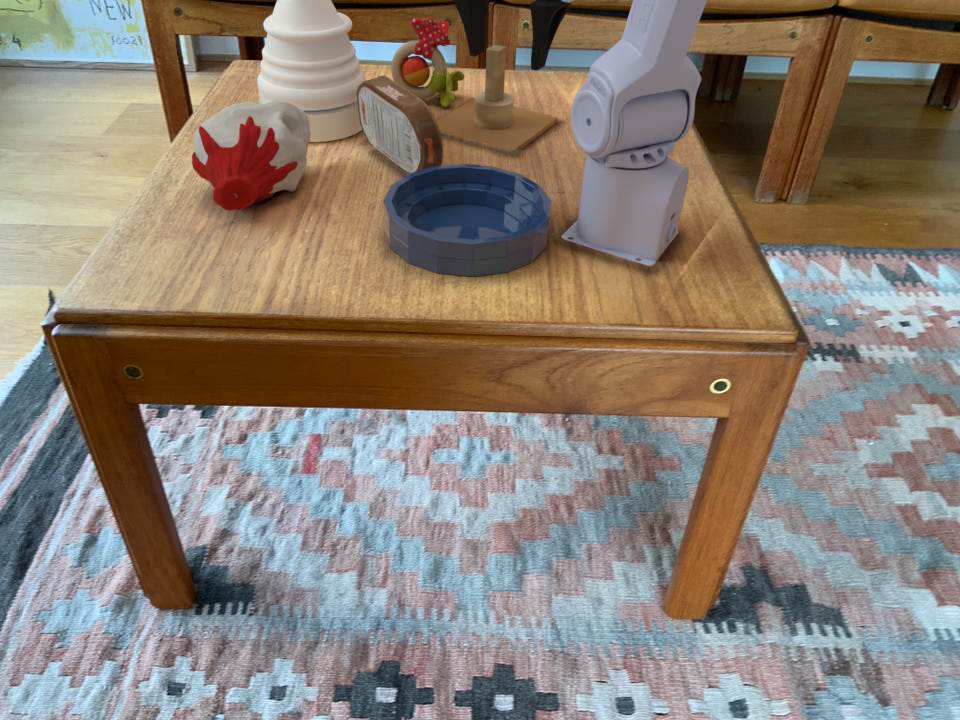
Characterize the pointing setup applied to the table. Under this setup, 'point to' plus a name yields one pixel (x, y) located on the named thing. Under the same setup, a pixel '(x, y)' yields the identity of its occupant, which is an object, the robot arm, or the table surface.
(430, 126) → the tin
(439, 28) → the bird rattle
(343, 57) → the honey pot
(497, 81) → the wooden peg on disc
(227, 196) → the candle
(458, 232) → the bowl
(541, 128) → the mat
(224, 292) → the table surface
